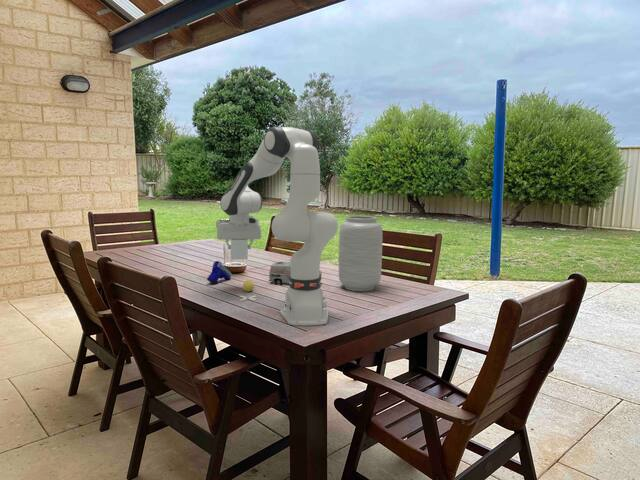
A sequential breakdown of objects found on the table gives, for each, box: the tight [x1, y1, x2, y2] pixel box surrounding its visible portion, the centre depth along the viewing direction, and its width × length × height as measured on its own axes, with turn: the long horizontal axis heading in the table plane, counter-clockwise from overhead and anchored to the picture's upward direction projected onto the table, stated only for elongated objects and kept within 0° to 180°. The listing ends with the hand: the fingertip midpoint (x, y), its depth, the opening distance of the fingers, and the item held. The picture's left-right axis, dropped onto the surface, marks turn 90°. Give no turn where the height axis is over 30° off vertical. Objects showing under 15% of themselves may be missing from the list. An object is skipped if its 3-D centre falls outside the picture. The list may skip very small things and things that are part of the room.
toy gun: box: [206, 260, 233, 285], centre depth 227 cm, size 4×13×10 cm
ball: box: [242, 280, 255, 292], centre depth 209 cm, size 5×5×5 cm
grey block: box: [230, 239, 249, 260], centre depth 213 cm, size 7×7×9 cm
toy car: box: [268, 261, 323, 286], centre depth 226 cm, size 11×25×10 cm, turn 78°
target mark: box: [239, 295, 258, 302], centre depth 198 cm, size 9×9×1 cm
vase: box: [338, 215, 383, 292], centre depth 217 cm, size 20×20×34 cm
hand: (239, 248), depth 213 cm, fingers closed on grey block, 7 cm apart
